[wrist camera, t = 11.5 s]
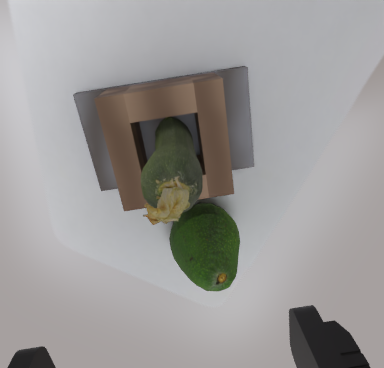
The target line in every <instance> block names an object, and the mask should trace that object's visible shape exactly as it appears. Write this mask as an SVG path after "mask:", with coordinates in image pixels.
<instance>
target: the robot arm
mask: <svg viewBox="0 0 384 368" xmlns="http://www.w3.org/2000/svg"><path fill="white" fill-rule="evenodd" d="M289 326H290V346H291V351H292V355H293V358H294V361H295V364H296V366H297V368H370V366H369V363H368V362H367V360H366V358H365V357H364V355H363V354H362V353H361V351H360V349H359V347H358V345H357V344H356V342H355V341H354V339H353V338H352V336H351V334H350V333H349V332H348V331H347V330H345V329H344V328H343V327H342V326H341V325H340V324H338V323H337V322H336V321H329V322H323V320H322V319H321V317H320V315H319V313H318V311H317V310H316V308H315V307H314V306H313V305H311V306H305V307H298V308H292V309H290V310H289ZM8 368H55V365H54V364H53V361H52V359H51V357H50V356H49V353H48V351H47V349H46V348H45V347H36V348H30V349H23V350H19V351H17V352H16V353H15V355H14V356H13V358H12V360H11V362H10V364H9V366H8Z"/></svg>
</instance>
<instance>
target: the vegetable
mask: <svg viewBox="0 0 384 368" xmlns="http://www.w3.org/2000/svg"><path fill="white" fill-rule="evenodd" d="M141 188H142V193H143V197H144V199H145V200H146V201H147V202H148V204H145V205H144V206H145V207H146V208H147V211H148V214H147V215H143V216H146V217H148V219H149V220H150V222H151V223H152V224H153V225H155V224H157V223H159V222H160V221H162V222H163V223H164V224H167V223H168V222H170V221H178V220H179V218H180V216H181V214H182V213H183V212H186V211H188V210H189V209H191V208H192V206H193V205H194V204H195V203H196V201H197V200H198V198H199V197H200V195H201V193H202V188H203V176H202V169H201V166H200V163H199V160H198V159H197V156H196V153H195V149H194V144H193V138H192V135H191V132H190V131H189V129H188V127H187V126H186V125H185V124H184V123H183V122H182V121H181V120H179V119H177V118H173V117H166V118H165V119H164V120H162V121H161V122H160V124H159V125H158V127H157V129H156V131H155V152H154V153H153V154H152V156H151V157H150V158H149V160H148V162H147V163H146V165H145V166H144V168H143V170H142V174H141Z"/></svg>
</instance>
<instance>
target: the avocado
mask: <svg viewBox="0 0 384 368" xmlns="http://www.w3.org/2000/svg"><path fill="white" fill-rule="evenodd" d="M169 239H170V245H171V250H172V253H173V257H174V259H175V261H176V262H177V264H178V265H179V267H180V268H181V270H182V271H183V272H184V273H185V274H186V275H187V277H188V278H189V279H190V280H191V281H192V282H193V283H195V284H196V285H197V286H199V287H201V288H203V289H204V290H206V291H221V290H224V289H226V288H228V287H230V285H231V283H232V282H233V280H234V279H235V277H236V273H237V265H238V254H239V245H240V238H239V231H238V228H237V225H236V223H235V222H234V220H233V219H232V218H231V216H230V215H229V214H228V213H227V212H225V211H224V210H223V209H222V208H220V207H218V206H215V205H213V204H211V203H199V204H196V205H193V206H192V208H191V209H189V210H188V211H186V212H183V213H182V214H181V216H180V218H179V220H178V221H174V223H173V226H172V229H171V233H170V238H169Z"/></svg>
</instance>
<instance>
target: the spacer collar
mask: <svg viewBox="0 0 384 368" xmlns="http://www.w3.org/2000/svg"><path fill="white" fill-rule="evenodd" d="M73 96H74V100H75V103H76V106H77V110H78V113H79V117H80V120H81V124H82V127H83V130H84V134H85V137H86V141H87V144H88V147H89V151H90V154H91V158H92V161H93V164H94V168H95V171H96V175H97V178H98V182H99V185H100V188H101V191H104V190H111V189H117V188H118V190H119V194H120V197H121V201H122V205H123V209H124V211H129V210H135V209H141V208H146V207H145V206H144V205H145V204H148V202H147V201H146V200H145V199H144V197H143V193H142V188H141V174H142V170H143V168H144V166H145V165H146V163H147V162H148V160H149V158H150V157H151V156H152V154H153V153H154V152H155V131H156V129H157V127H158V125H159V124H160V122H161V121H162V120H164V119H165V118H166V117H173V118H177V119H179V120H181V121H182V122H183V123H184V124H185V125H186V126H187V127H188V129H189V131H190V132H191V135H192V138H193V144H194V149H195V153H196V156H197V159H198V160H199V163H200V166H201V169H202V176H203V188H202V193H201V195H200V197H199V198H198V199H204V198H211V197H217V196H223V195H230V194H234V188H233V178H232V170H237V169H243V168H249V167H254V158H253V143H252V128H251V113H250V98H249V83H248V68H247V67H245V66H243V67H236V68H230V69H224V70H217V71H211V72H205V73H198V74H192V75H186V76H179V77H173V78H167V79H160V80H154V81H148V82H142V83H135V84H129V85H123V86H116V87H110V88H104V89H97V90H91V91H85V92H78V93H76V94H74V95H73Z"/></svg>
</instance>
